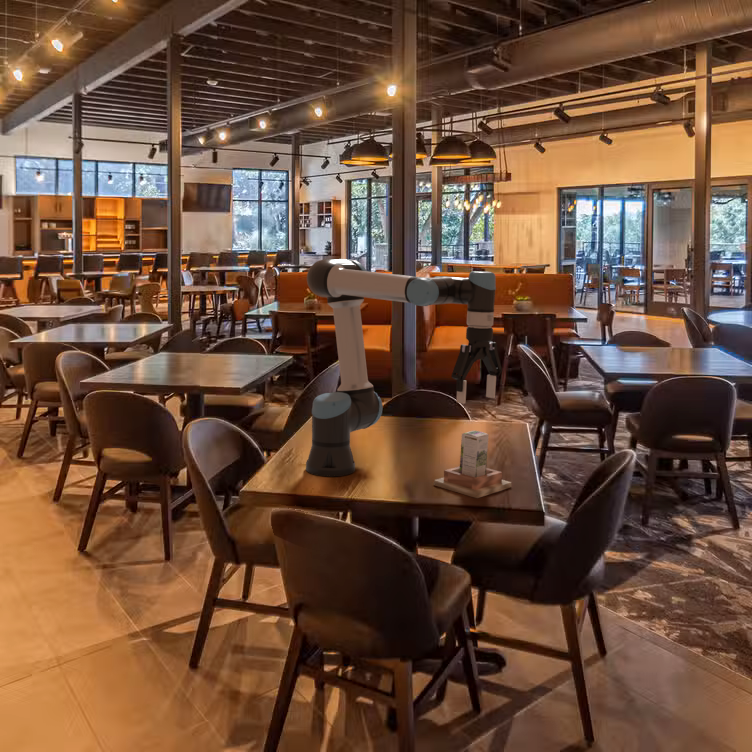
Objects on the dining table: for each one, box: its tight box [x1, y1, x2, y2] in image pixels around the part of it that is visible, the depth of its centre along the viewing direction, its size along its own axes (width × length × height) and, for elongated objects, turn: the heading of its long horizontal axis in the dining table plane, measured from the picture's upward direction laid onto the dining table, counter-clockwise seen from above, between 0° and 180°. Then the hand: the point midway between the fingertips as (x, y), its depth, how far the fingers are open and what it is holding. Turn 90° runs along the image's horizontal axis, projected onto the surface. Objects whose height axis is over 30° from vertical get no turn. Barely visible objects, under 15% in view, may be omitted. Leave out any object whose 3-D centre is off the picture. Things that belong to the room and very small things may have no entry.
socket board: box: [433, 465, 512, 499], centre depth 233 cm, size 16×16×4 cm
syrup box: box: [459, 430, 489, 478], centre depth 232 cm, size 6×6×14 cm
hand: (476, 400), depth 229 cm, fingers open, 13 cm apart
